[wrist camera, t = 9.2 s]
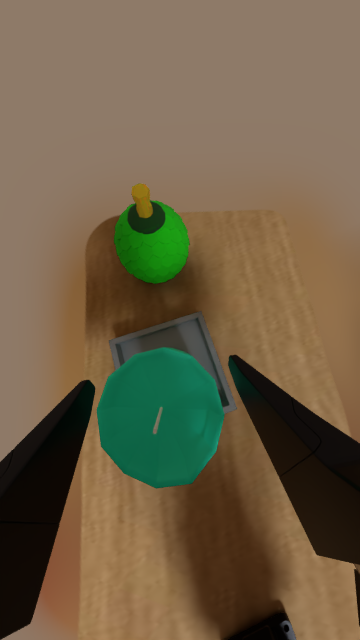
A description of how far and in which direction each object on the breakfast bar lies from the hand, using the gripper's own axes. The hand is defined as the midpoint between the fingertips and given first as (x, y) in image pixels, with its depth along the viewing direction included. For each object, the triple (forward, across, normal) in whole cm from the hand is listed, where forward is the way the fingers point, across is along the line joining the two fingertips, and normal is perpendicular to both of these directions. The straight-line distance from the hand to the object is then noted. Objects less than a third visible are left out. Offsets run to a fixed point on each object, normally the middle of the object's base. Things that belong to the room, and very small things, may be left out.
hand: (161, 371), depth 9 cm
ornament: (+16, 0, -3) cm, 16 cm away
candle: (+5, 0, +7) cm, 9 cm away
